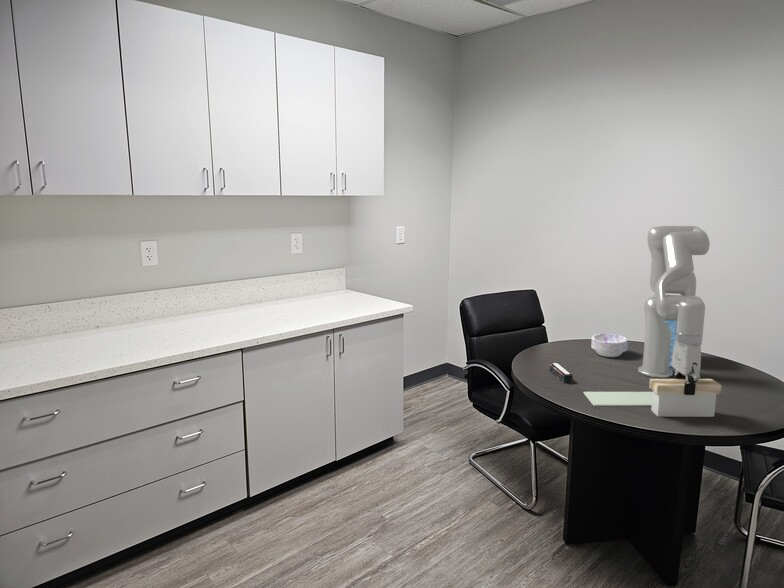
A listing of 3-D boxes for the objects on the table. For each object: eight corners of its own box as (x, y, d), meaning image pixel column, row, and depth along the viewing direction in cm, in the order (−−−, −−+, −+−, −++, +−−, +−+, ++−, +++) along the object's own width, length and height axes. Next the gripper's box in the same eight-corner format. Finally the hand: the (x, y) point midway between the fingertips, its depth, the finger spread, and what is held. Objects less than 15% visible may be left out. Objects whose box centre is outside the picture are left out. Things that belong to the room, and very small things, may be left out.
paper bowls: (591, 358, 235) (592, 341, 233) (590, 348, 249) (590, 332, 248) (628, 360, 230) (630, 343, 229) (625, 350, 244) (626, 334, 243)
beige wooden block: (649, 387, 178) (649, 378, 177) (710, 387, 177) (711, 378, 176) (657, 394, 172) (657, 385, 171) (720, 394, 171) (721, 385, 170)
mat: (583, 393, 195) (583, 391, 195) (655, 393, 194) (655, 391, 193) (593, 405, 183) (593, 404, 183) (670, 406, 182) (670, 404, 182)
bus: (555, 388, 202) (555, 378, 201) (532, 367, 227) (533, 357, 226) (592, 386, 203) (592, 376, 202) (565, 365, 228) (565, 356, 227)
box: (651, 410, 179) (653, 387, 177) (706, 410, 178) (708, 387, 176) (657, 416, 174) (659, 393, 172) (714, 416, 173) (716, 393, 171)
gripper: (664, 331, 180) (660, 381, 183) (690, 346, 163) (685, 401, 166) (687, 331, 179) (683, 381, 183) (715, 345, 162) (709, 401, 166)
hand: (684, 390), depth 174 cm, fingers closed on beige wooden block, 6 cm apart
